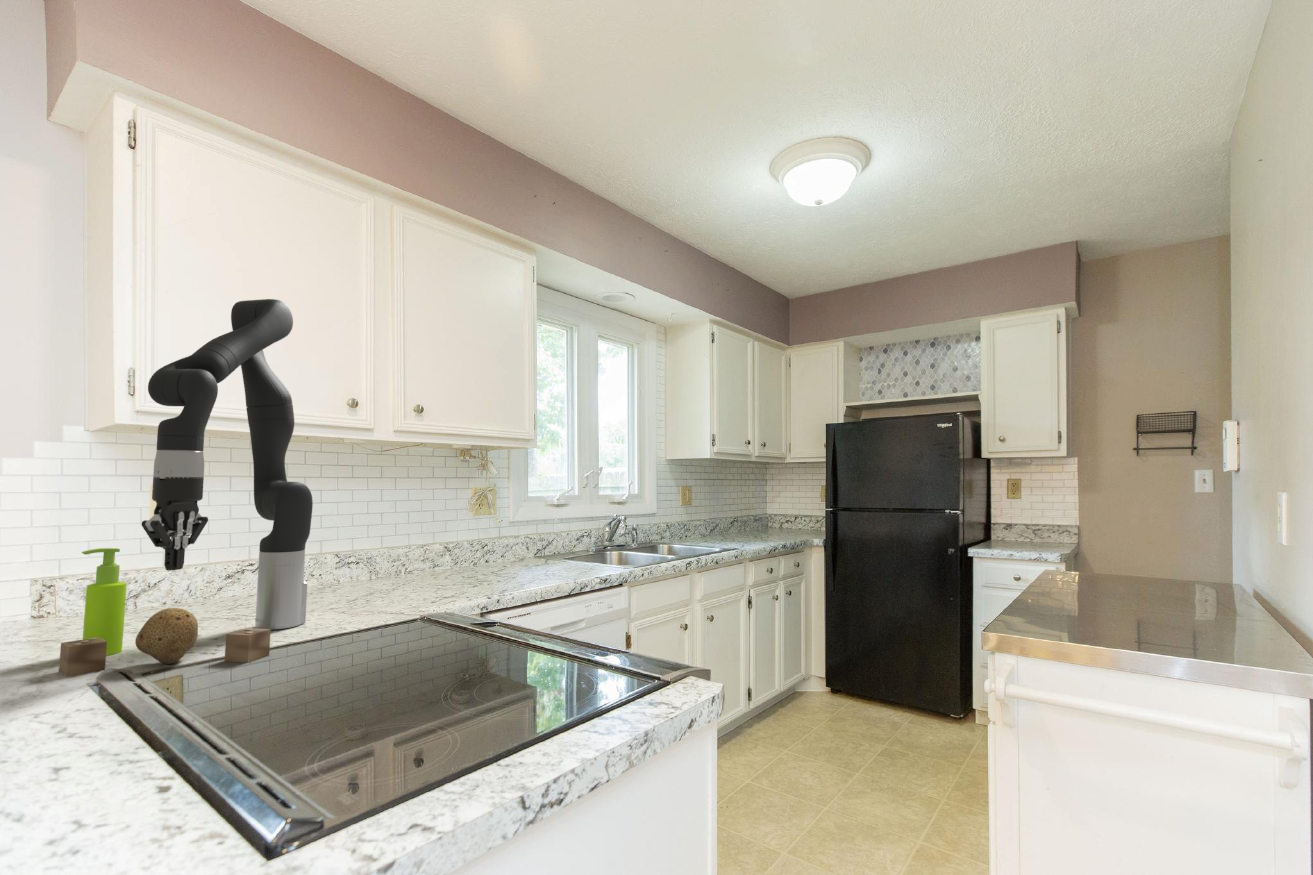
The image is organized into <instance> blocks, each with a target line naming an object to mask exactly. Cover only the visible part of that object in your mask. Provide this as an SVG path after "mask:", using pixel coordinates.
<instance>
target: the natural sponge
mask: <svg viewBox="0 0 1313 875" xmlns="http://www.w3.org/2000/svg"><path fill="white" fill-rule="evenodd" d="M198 635H199V623H198V620H197V618H196V616H195V615H194V614H193V613H192V612H190V611H188V610H186V609H184V608H183V609H182V608H177V607H168V608H164V609H161V610H159V611H158V612H156V613H153V614H152V615H151V617H150V618H148V619H147V621H146V622H145V623H144V624H143V626H142V627H141V628H140V629H139V631H138V633H137V634H136V637H135V645H136V647H137V648H136V649H138V650H139V651H140V652H141V653H144V654H146V655H149V656H151V657H152V658H153V659H155V660H156V661H158V662H159V663H162V664H165V665H172V664H175V663H176V662H178V661H180V660H181V659H182V658H183V657H184V656H185V655H186V654H187V652H189V651H190V650H191V649H193V647H194V646H195V644H196V642H197V640H198V637H199V636H198Z"/></svg>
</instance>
